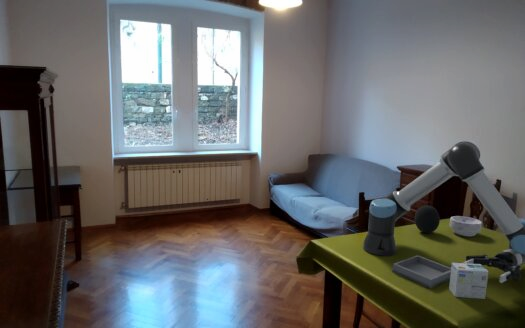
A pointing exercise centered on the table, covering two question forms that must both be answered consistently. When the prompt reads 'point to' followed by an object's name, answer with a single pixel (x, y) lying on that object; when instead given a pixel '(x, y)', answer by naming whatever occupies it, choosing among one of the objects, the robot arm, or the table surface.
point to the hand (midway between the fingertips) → (481, 272)
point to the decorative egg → (427, 219)
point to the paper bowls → (465, 225)
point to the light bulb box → (468, 280)
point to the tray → (423, 271)
